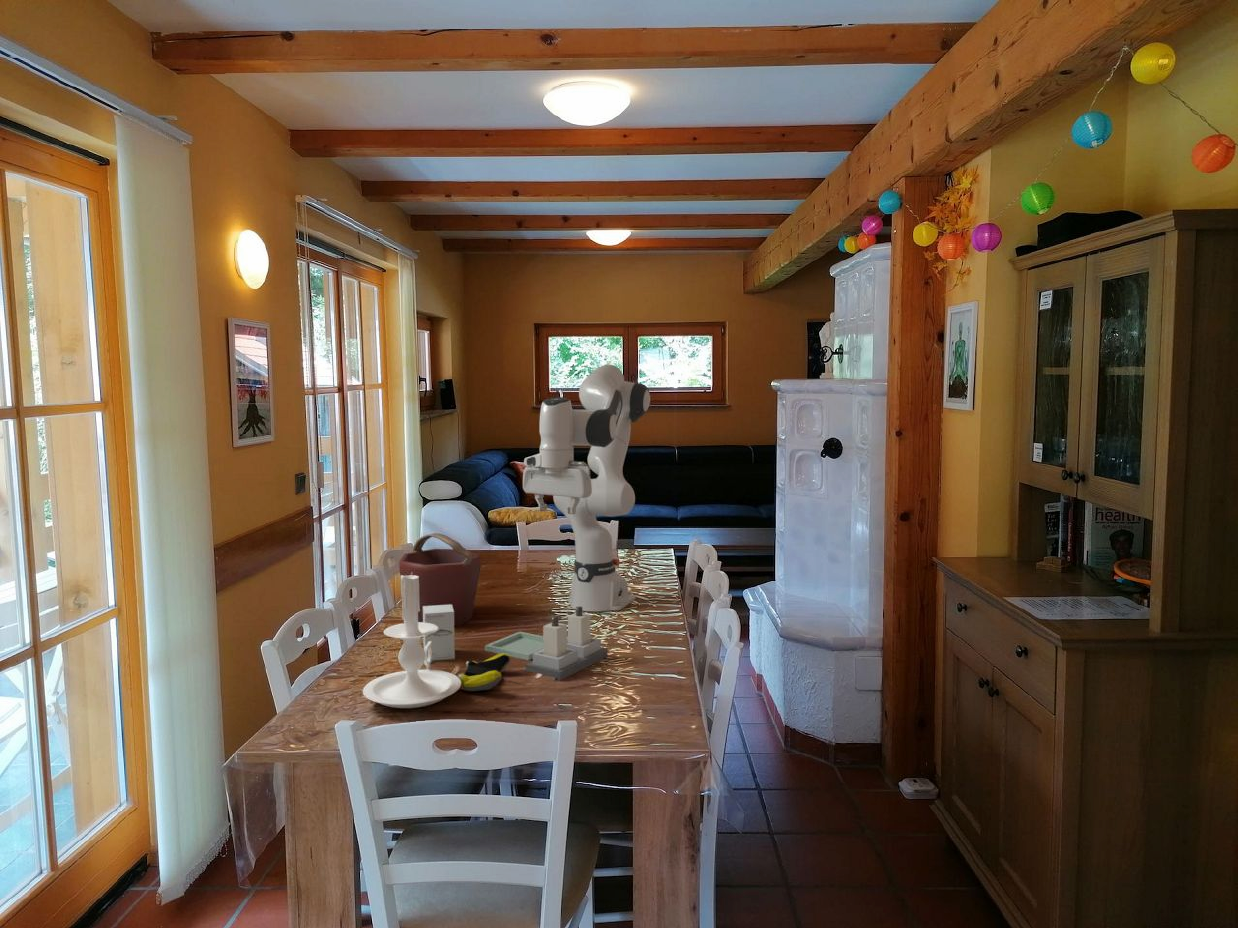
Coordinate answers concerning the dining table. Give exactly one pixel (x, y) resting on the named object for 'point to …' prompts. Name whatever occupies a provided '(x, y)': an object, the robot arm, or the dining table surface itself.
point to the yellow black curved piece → (484, 673)
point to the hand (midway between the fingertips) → (557, 512)
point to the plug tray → (517, 645)
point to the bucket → (444, 576)
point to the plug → (579, 628)
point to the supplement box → (440, 631)
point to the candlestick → (412, 661)
